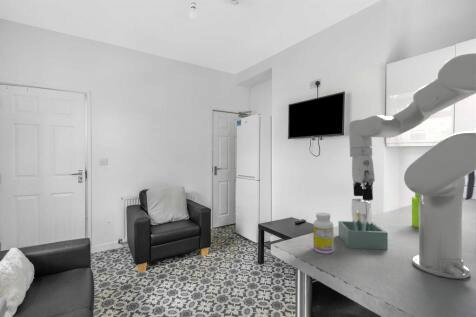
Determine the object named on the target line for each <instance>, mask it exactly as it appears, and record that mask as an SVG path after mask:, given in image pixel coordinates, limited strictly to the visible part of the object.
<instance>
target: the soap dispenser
mask: <svg viewBox="0 0 476 317" xmlns="http://www.w3.org/2000/svg"><path fill="white" fill-rule="evenodd" d="M414 195H415V196H412V197H411V226H412V227H413V228H418V229H419V200H420V194H417V193H414Z"/></svg>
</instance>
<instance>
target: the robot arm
mask: <svg viewBox="0 0 476 317" xmlns="http://www.w3.org/2000/svg"><path fill="white" fill-rule="evenodd" d="M474 95H476V53H473V52H472V53H463V54H459V55H457V56H454V57H452V58H450V59H449V60H447V61H446V62H445V63H444V64H442V66H441V67H440V69H439V70H438V73H437V78H436V79H434V80H433V81H431V82H430V83H428V84H426V85H424V86H422V87H420V88H419V89H418V90H416V91H414V92H413V94H412V100H411V103H410V104H408V106H407V107H406V108H404V109H402V110H401V111H399V112H397V113H395V114H393V115H391V116H389V115H388V116H386V115H379V114H377V115H373V116H372V115H371V116H369V117H366V118H363V119H356V120H352V121H350V122H349V124H348V135H349V136H348V137H349V139H348V142H349V156H350V157H349V158H352V159H351V160H352V161H351V174H352V175H351V176H352V182H353V183H352V185H353V186H352V187H353V196H354V197H362V199H363V200H371V201H373V200H374V196H373V195H374V194H373V191H374V190H373V189H374V187H373V185H374V182H375V181H376V180H375V170H374V169H375V168H374V162H373V140H372V138H389V139H390V138H394V137H397V136H400V135H402V134H404V133H407V132H409V131H410V130H412V129H414V128H416V127H418V126H420V125H421V124H422V123H423V122H425V121H427V120H428V119H429V118H430V117H431V116H433V115H434V114H436V113H439V112H440V111H443V110H444V109H447V108H448V107H450V106H452V105H455V104H457V103H459V102H460V101H463V100H464V99H467V98H469V97H471V96H474ZM474 171H476V129H474V130H473V131H472V130H471V131H470V130H469V131H466V130H465V131H461V132H460V131H459V132H457V133H456V132H455V133H453V134H451V135H449V136H447V137H445V138H444V139H442V140H440V141H439V142H438V143H437V144H435V145H434V146H433V147H431V148H430V149H429V150H427V151H426V152H425V153H424V154H423V155H421V156H420V157H418V158H417V159H416V160H414V161H413V162H412V163H411V164H410V165H408V167H407V168H406V170H405V172H404V175H403V180H404V183H405V186H406V187H407V188H408V190H409V191H411V192H413V193H414V194H415V193H417V194H420V200H419V228H418V255H415V256H414V257H412V264H413V265H414V266H415V267H417V268H418V269H420V270H421V271H424V272H425V273H429V274H431V275H435V276H438V277H442V278H446V279H456V280H460V279H461V280H462V279H467V278H468V277H470V275H471V272H470V269H469V268H468V267H466V266H465V265H464V264H465V263H464V260H463V201H464V200H463V199H464V193H465V192H464V191H465V186H466V176H468V175H469V174H471V173H472V172H474Z"/></svg>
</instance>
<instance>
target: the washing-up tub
mask: <svg viewBox="0 0 476 317" xmlns="http://www.w3.org/2000/svg"><path fill="white" fill-rule="evenodd" d="M388 234H389V233H388V232H387V231H386V230H385V229H383V228H381V227H380V226H378V225H377V224H376V223H374V222H372V221H371V224H370V230H369V231H354V225H353V220H352V221H349V220H348V221H347V220H338V237H339V238H340V239H341V241H342V242H343V243H344V244H345V245H346V247H347V248H349V249H366V250H384V251H385V250H387V251H388V245H389V244H388V241H389V240H388Z"/></svg>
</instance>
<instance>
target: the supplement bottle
mask: <svg viewBox="0 0 476 317" xmlns="http://www.w3.org/2000/svg"><path fill="white" fill-rule="evenodd" d="M315 217H316V218H315V220H314V221H313V224H312V225H313V228H312V229H313V249H314V251H315V252H317V253H319V254H323V255H324V254H326V255H327V254H333V252H334V250H335V248H334V246H335V242H334V241H335V240H334V239H335V238H334V237H335V236H334V223H333V222H332V221H331V220H330V219H331V214H330V213H328V212H316V213H315Z"/></svg>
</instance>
